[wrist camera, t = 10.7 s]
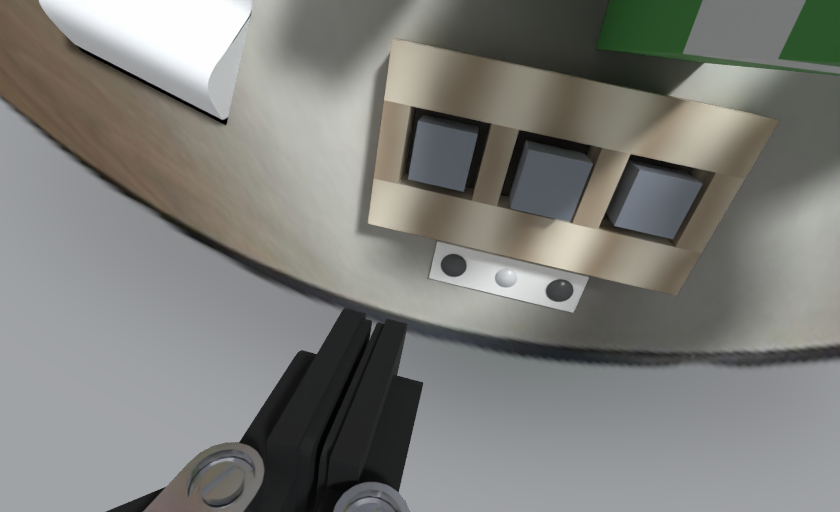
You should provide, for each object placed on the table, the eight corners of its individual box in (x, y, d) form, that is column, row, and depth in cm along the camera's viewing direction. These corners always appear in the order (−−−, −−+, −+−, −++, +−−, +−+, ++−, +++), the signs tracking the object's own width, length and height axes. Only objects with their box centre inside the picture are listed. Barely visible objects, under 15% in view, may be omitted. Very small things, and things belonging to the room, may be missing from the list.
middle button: (584, 153, 30) (593, 163, 28) (563, 207, 32) (570, 222, 30) (525, 140, 31) (529, 149, 28) (509, 195, 33) (510, 208, 30)
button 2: (685, 171, 31) (702, 183, 29) (658, 223, 33) (673, 239, 31) (627, 159, 31) (639, 169, 29) (604, 211, 34) (614, 225, 31)
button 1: (478, 126, 32) (477, 134, 29) (465, 180, 34) (463, 191, 31) (423, 114, 32) (418, 121, 30) (414, 168, 34) (407, 179, 32)
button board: (753, 113, 29) (779, 120, 27) (663, 277, 36) (676, 295, 33) (400, 39, 31) (392, 38, 28) (376, 210, 37) (367, 223, 35)
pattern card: (588, 275, 37) (589, 277, 37) (572, 311, 39) (573, 313, 39) (437, 240, 38) (436, 242, 37) (429, 276, 40) (428, 278, 39)
